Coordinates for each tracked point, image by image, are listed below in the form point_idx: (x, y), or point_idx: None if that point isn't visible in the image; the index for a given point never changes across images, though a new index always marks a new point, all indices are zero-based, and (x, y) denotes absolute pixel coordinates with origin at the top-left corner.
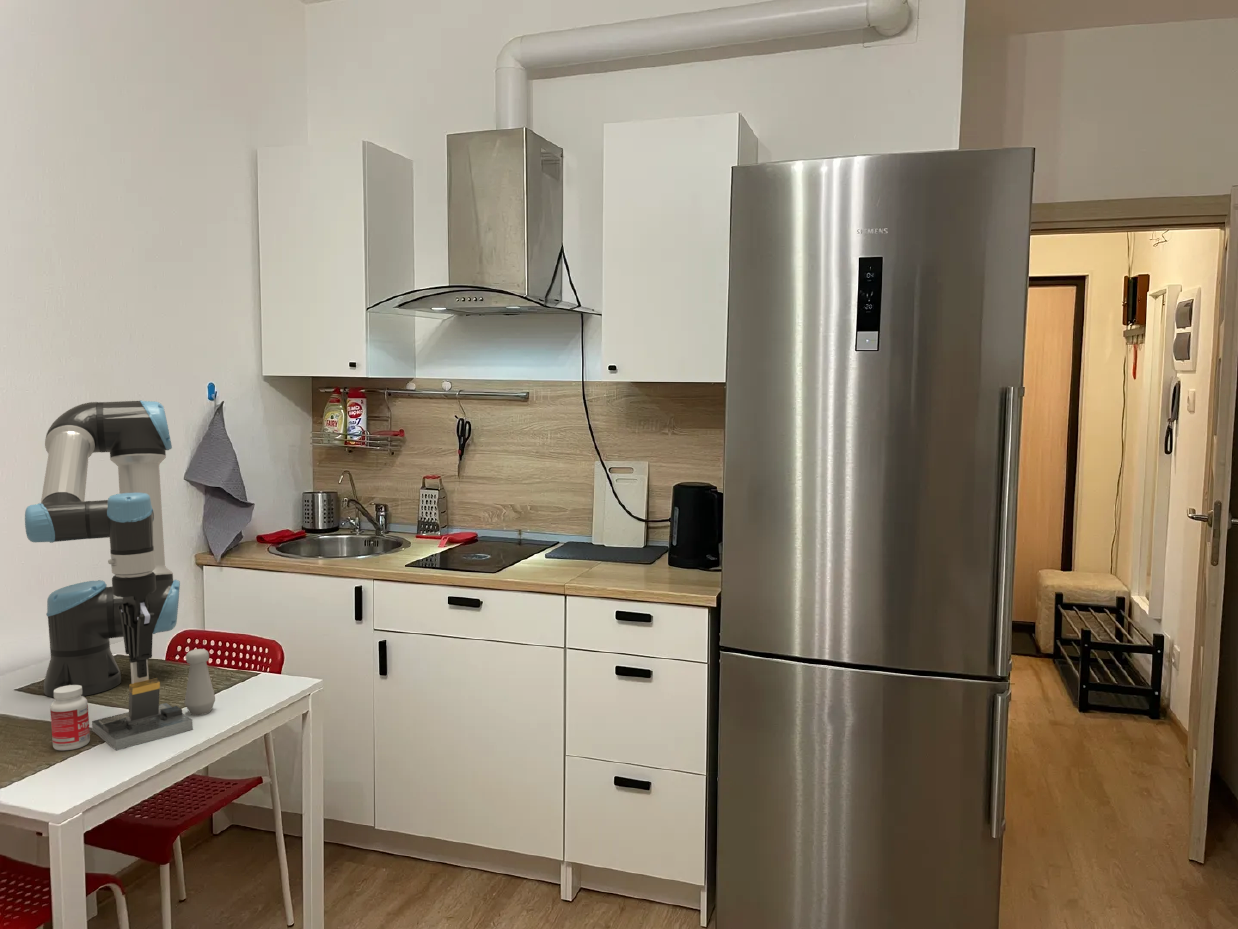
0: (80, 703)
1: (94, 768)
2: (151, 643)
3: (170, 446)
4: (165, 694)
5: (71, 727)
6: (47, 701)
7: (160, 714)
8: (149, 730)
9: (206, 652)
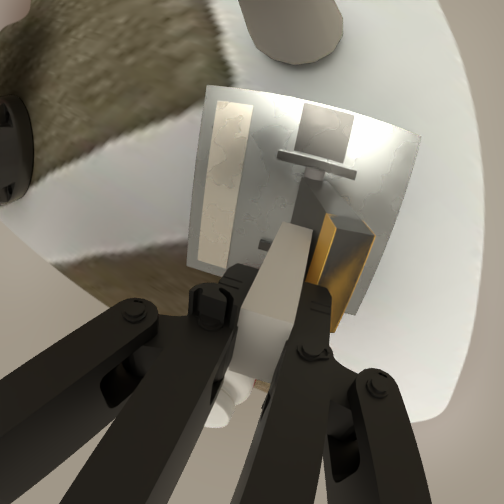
0: (246, 386)
1: (387, 357)
2: (423, 486)
3: None
4: (105, 45)
5: None
6: (27, 208)
7: (324, 171)
8: (383, 247)
9: None
